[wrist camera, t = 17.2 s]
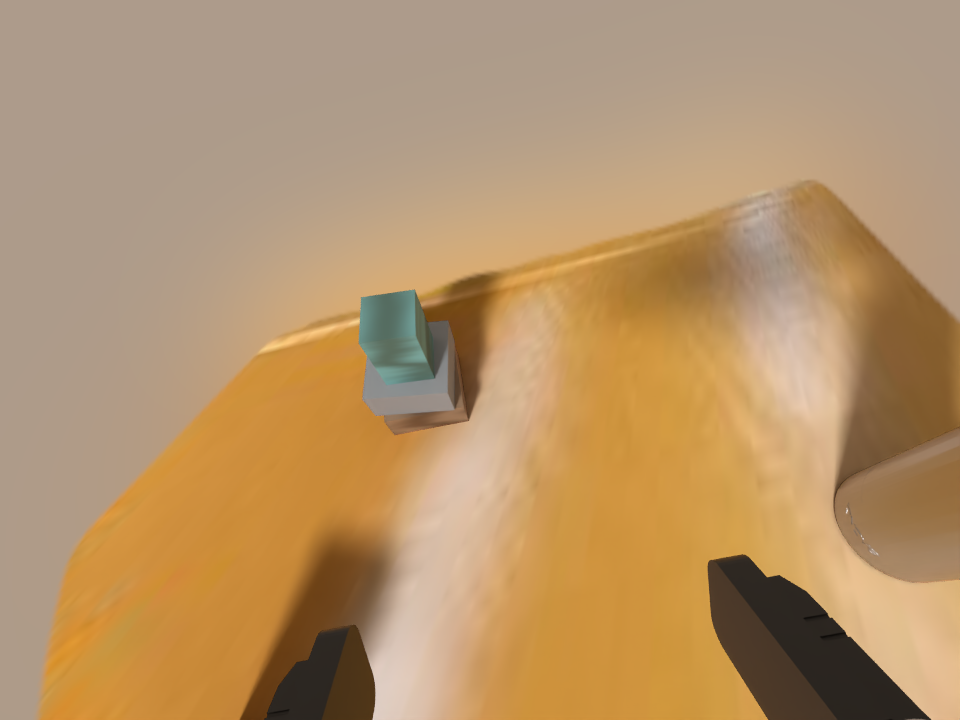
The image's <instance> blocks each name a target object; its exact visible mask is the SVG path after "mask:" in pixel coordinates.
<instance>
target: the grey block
mask: <svg viewBox="0 0 960 720" xmlns="http://www.w3.org/2000/svg"><path fill="white" fill-rule="evenodd" d="M427 323H428V325H429V328H430V331H431V333H432V336H433V348H434V371H435V379H429V380H421V381H414V382H406V383H399V384H391V385H386V384H385V382H384V381H383V379H382V378H381V376H380V375H379V373H378V372H377V370H376V369H375V367H374V365H373V364H372V362H371V361H370V359H369V358H368V356H367V362H366V371H365V380H364V389H363V401H364V402H365V403H366V404H367V406H368V407H369V408H370V409H371V410H372V412H373V413H374V414H375V415H376V416H380V415H394V414H408V413H422V412H436V411H450V410H455V341H454V338H453V334H452V331H451V328H450V325H449V321H437V322H427Z"/></svg>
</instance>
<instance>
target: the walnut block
mask: <svg viewBox="0 0 960 720" xmlns="http://www.w3.org/2000/svg"><path fill="white" fill-rule="evenodd" d="M384 420H385V423H386V425H387V426H388V427H389V428H390V430H391V431H392V432H393V433H394V435H398V434H403V433H408V432H414V431H419V430H424V429H429V428H434V427H439V426H444V425H450V424H455V423H460V422H465V421H469V420H468V414H467V408H466V401H465V395H464V389H463V382H462V376H461V370H460V363H459V357H458V354H457V350H456V347H455V410H450V411H436V412H422V413H408V414H394V415H384Z"/></svg>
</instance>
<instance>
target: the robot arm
mask: <svg viewBox="0 0 960 720" xmlns="http://www.w3.org/2000/svg"><path fill="white" fill-rule="evenodd" d="M835 515H836V519H837V523H838V525H839V528H840V530H841V532H842V534H843V536H844V537H845V539H846V540H847V542H848V543H849V545H850V546H851V547H852V548H853V549H854V550H855V552H856V553H857V554H858V555H859V556H860V557H861V558H862V559H864V560H865V561H866V562H867V563H869V564H870V565H871V566H873V567H874V568H876V569H878V570H879V571H881V572H883V573H884V574H887V575H889V576H892V577H894V578H897V579H899V580H904V581H909V582H920V583H927V582H939V581H950V580H960V427H958V428H956V429H954V430H951V431H949V432H947V433H945V434H943V435H940V436H938V437H936V438H934V439H931V440H929V441H927V442H925V443H923V444H920V445H918V446H916V447H914V448H911V449H909V450H907V451H905V452H902V453H900V454H898V455H896V456H894V457H891V458H889V459H887V460H885V461H882V462H880V463H878V464H875V465H873V466H871V467H869V468H867V469H865V470H862V471H860V472H858V473H856V474H854V475H852V476H850V477H848V478H847V479H846V480H845V481H844V482H843V483H842V484H841V486H840V487H839V489H838V490H837V494H836V497H835ZM708 579H709V593H710V607H711V617H712V622H713V625H714V629H715V631H716V634H717V637H718V639H719V641H720V643H721V645H722V647H723V648H724V650H725V652H726V653H727V655H728V656H729V658H730V660H731V661H732V663H733V664H734V666H735V668H736V669H737V671H738V672H739V674H740V676H741V677H742V679H743V680H744V682H745V683H746V685H747V687H748V688H749V690H750V691H751V693H752V695H753V696H754V698H755V699H756V701H757V703H758V704H759V706H760V707H761V709H762V710H763V712H764V714H765V715H766V717H767V718H768V720H931V719H930V718H929V717H928V716H927V715H926V714H925V713H924V712H923V711H922V710H921V709H920V708H919V707H918V706H917V705H916V704H915V703H914V702H913V701H912V700H911V699H910V698H909V697H908V696H907V695H906V694H905V693H904V692H903V691H902V690H901V689H900V688H899V687H898V686H897V685H896V684H895V683H894V682H893V680H892V679H891V678H890V677H889V676H888V675H887V674H886V673H885V672H884V671H883V670H882V669H881V668H880V667H879V666H878V665H877V664H876V663H875V662H874V661H873V660H872V659H871V658H870V657H869V656H868V655H867V654H866V653H865V652H864V650H863V649H862V648H861V647H860V646H859V645H858V644H857V643H856V642H855V641H854V640H853V639H852V638H851V637H848V636H847V635H846V632H845V631H844V630H843V629H842V628H841V627H840V626H839V625H838V624H837V623H836V622H835V620H834V619H833V618H829V616H828V613H827V612H826V611H825V610H824V609H823V608H822V607H821V606H820V605H819V604H818V603H817V602H816V601H815V600H814V599H813V598H812V597H811V596H810V595H809V594H808V593H807V592H806V591H805V590H803V589H801V588H800V587H798V586H796V585H795V584H793V583H791V582H790V581H788V580H786V579H785V578H783V577H781V576H780V575H778V576H772V577H766V576H765V575H764V574H763V572H762V571H761V570H760V569H759V568H758V567H757V566H756V565H755V563H754V562H753V561H752V560H751V559H750V558H749V557H748V556H746V555H743V554H742V555H737V556H731V557H726V558H720V559H715V560H710V561H709V562H708ZM374 707H375V682H374V677H373V673H372V670H371V667H370V664H369V661H368V658H367V655H366V652H365V649H364V645H363V642H362V639H361V636H360V633H359V630H358V628H357V627H356V626H355V625H350V626H345V627H339V628H334V629H329V630H323V631H321V632H320V633H319V634H318V636H317V638H316V641H315V643H314V646H313V649H312V651H311V654H310V657H309V659H308V660H306V661H301V662H297V663H296V664H295V665H294V667H293V668H292V669H291V670H290V672H289V673H288V674H287V676H286V677H285V678H284V680H283V681H282V682H281V683H280V685H279V686H278V688H277V691H276V693H275V695H274V698H273V700H272V702H271V705H270V707H269V710H268V712H267V718H265V719H264V720H372V718H373V713H374Z"/></svg>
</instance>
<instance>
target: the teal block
mask: <svg viewBox="0 0 960 720" xmlns="http://www.w3.org/2000/svg"><path fill="white" fill-rule="evenodd" d="M359 344H360V346H361V347H362V349H363V350H364V352H365V353H366V355H367V356H368V358H369V359H370V361H371V362H372V364H373V365H374V367H375V369H376V370H377V372H378V373H379V375H380V376H381V378H382V379H383V381H384V382H385V384H386V385H391V384H399V383H406V382H414V381H421V380H429V379H435V371H434V348H433V336H432V333H431V331H430V328H429V325H428V323H427V320H426V318H425V315H424V312H423V310H422V307H421V305H420V302H419V299H418V297H417V294H416V292H415V290H409V291H403V292H395V293H388V294H382V295H375V296H368V297H361V312H360V330H359Z"/></svg>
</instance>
